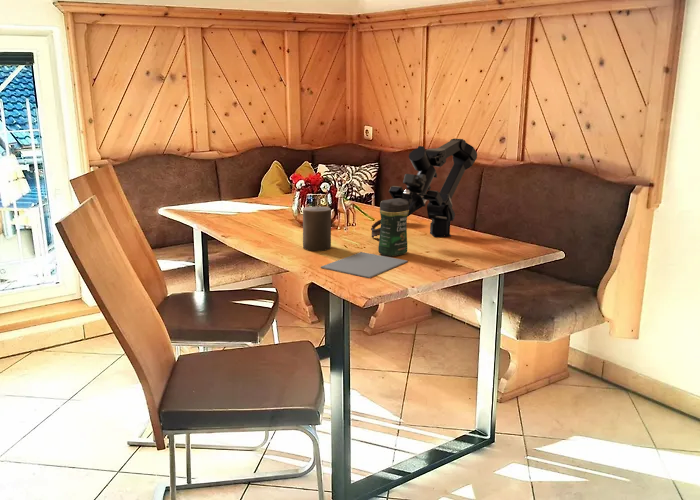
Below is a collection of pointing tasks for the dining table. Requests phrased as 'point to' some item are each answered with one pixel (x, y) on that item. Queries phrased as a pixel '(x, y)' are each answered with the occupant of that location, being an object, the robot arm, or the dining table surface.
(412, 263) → the dining table surface
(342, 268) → the mat
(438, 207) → the robot arm
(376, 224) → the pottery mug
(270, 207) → the dining table surface
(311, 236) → the pillar candle
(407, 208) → the coffee jar
